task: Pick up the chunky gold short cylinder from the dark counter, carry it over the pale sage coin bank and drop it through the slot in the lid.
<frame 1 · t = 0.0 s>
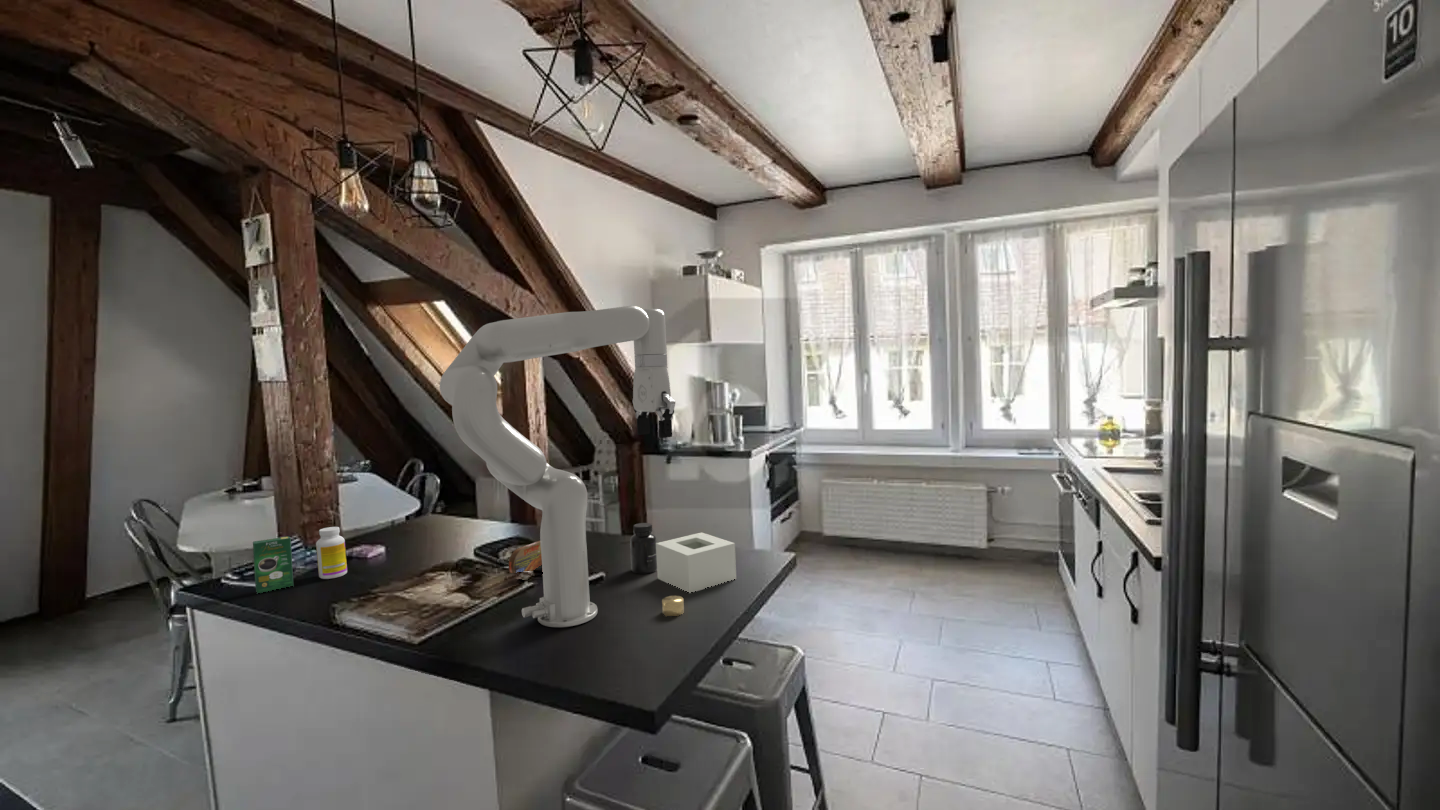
hand: (654, 435, 151), 37 cm above the worktop, tool pointing down, fingers open, 9 cm apart
coin bank: (696, 578, 160), on the worktop
coffee box: (275, 590, 165), on the worktop
supplement bottle 2: (333, 576, 174), on the worktop
supplement bottle: (644, 571, 168), on the worktop
gold short cylinder: (673, 613, 139), on the worktop
tin: (534, 576, 168), on the worktop
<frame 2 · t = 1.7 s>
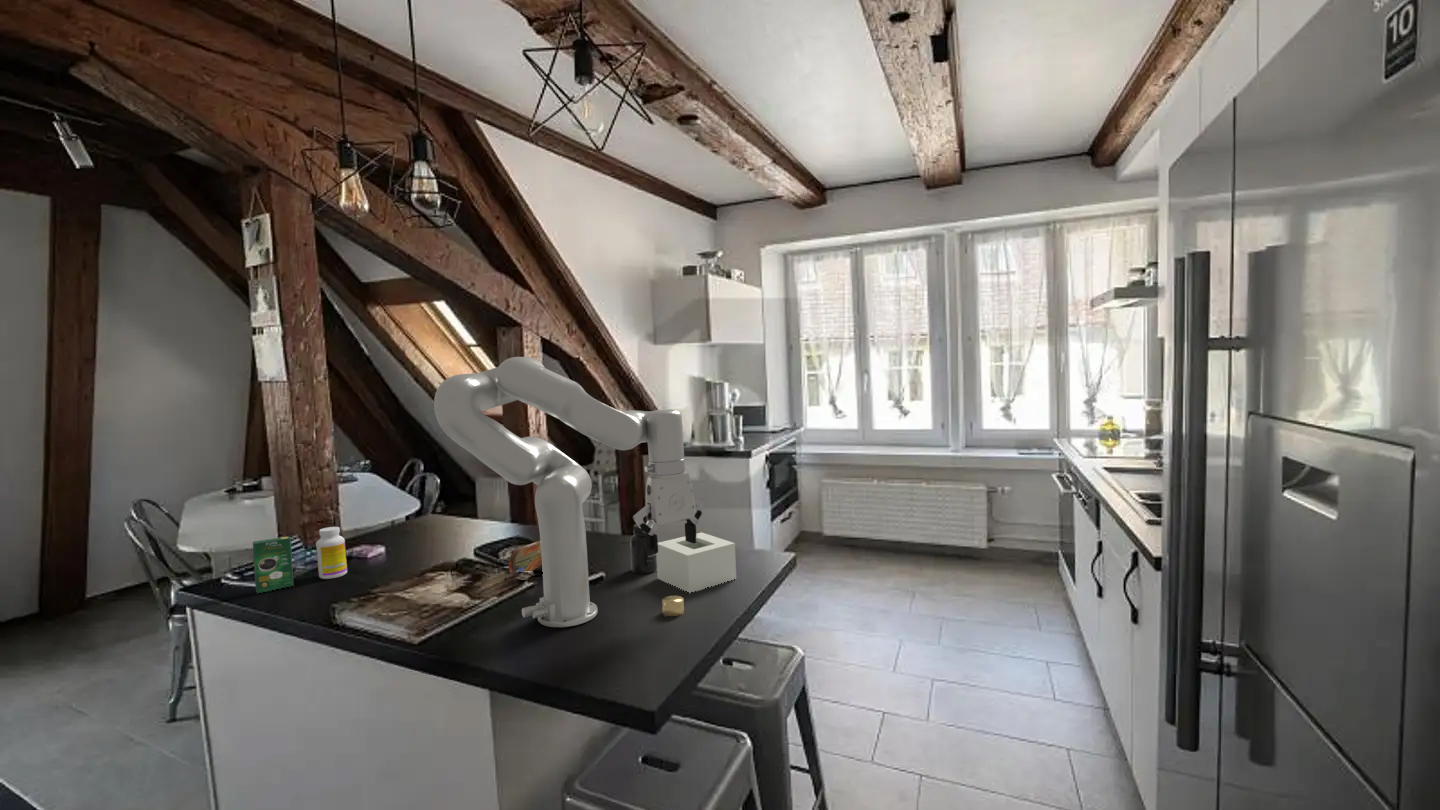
hand: (672, 547, 138), 14 cm above the worktop, tool pointing down, fingers open, 9 cm apart
nothing on the worktop moved.
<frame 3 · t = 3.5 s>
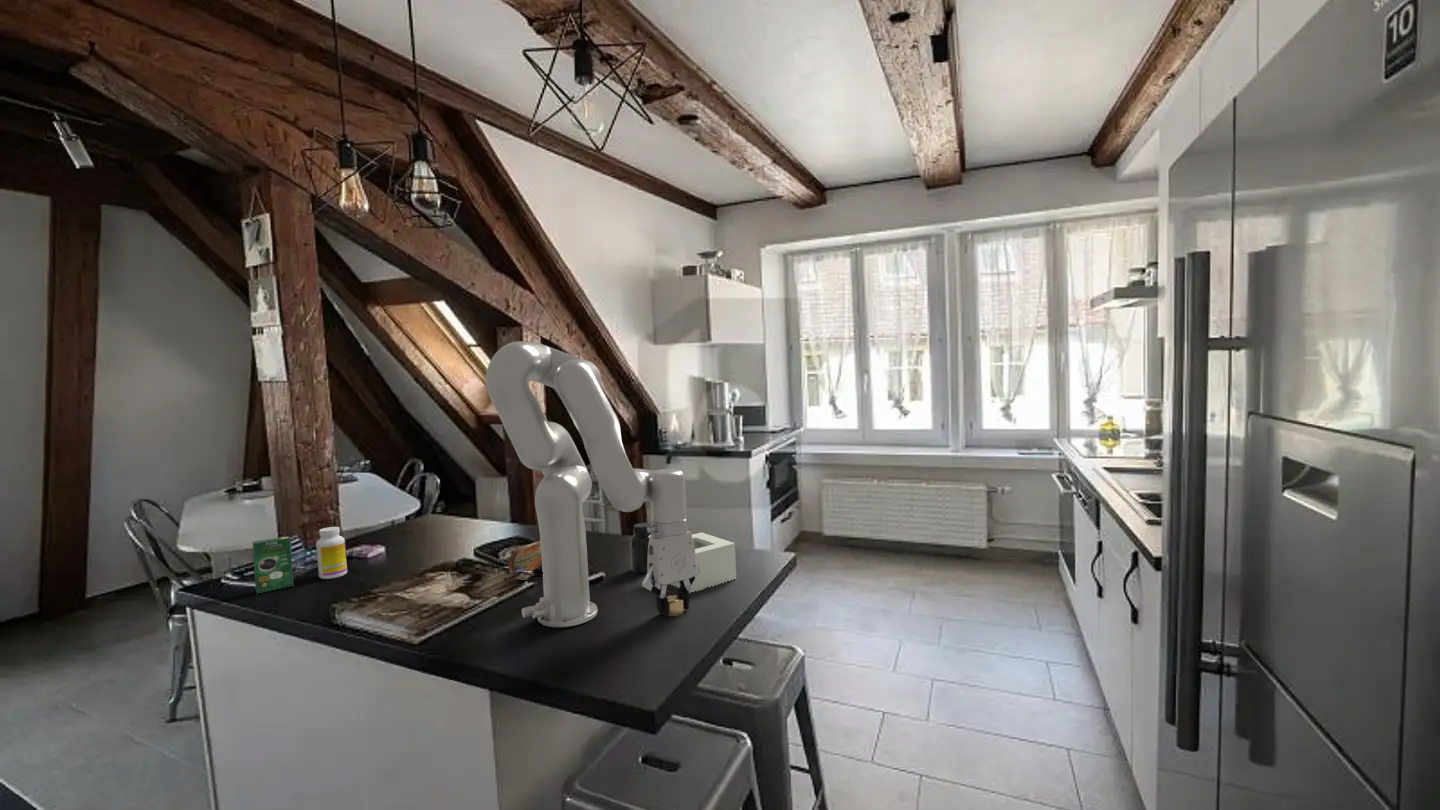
hand: (673, 609, 139), 1 cm above the worktop, tool pointing down, fingers closed on gold short cylinder, 4 cm apart
gold short cylinder: (673, 612, 139), on the worktop, touching gripper
everything else where it was.
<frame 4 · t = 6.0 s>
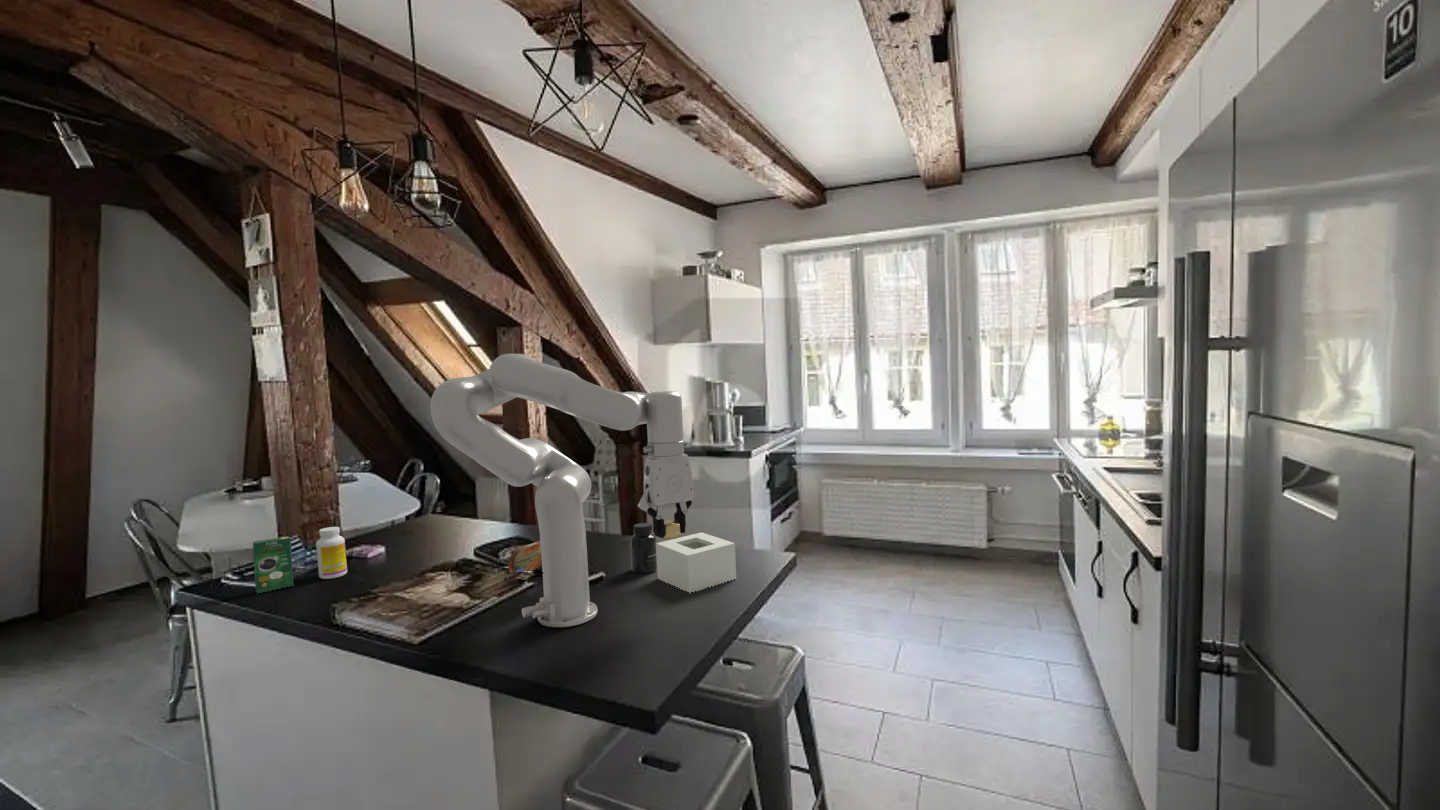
hand: (669, 533, 138), 17 cm above the worktop, tool pointing down, fingers closed on gold short cylinder, 4 cm apart
gold short cylinder: (670, 536, 138), point 17 cm above the worktop, touching gripper
everything else where it was.
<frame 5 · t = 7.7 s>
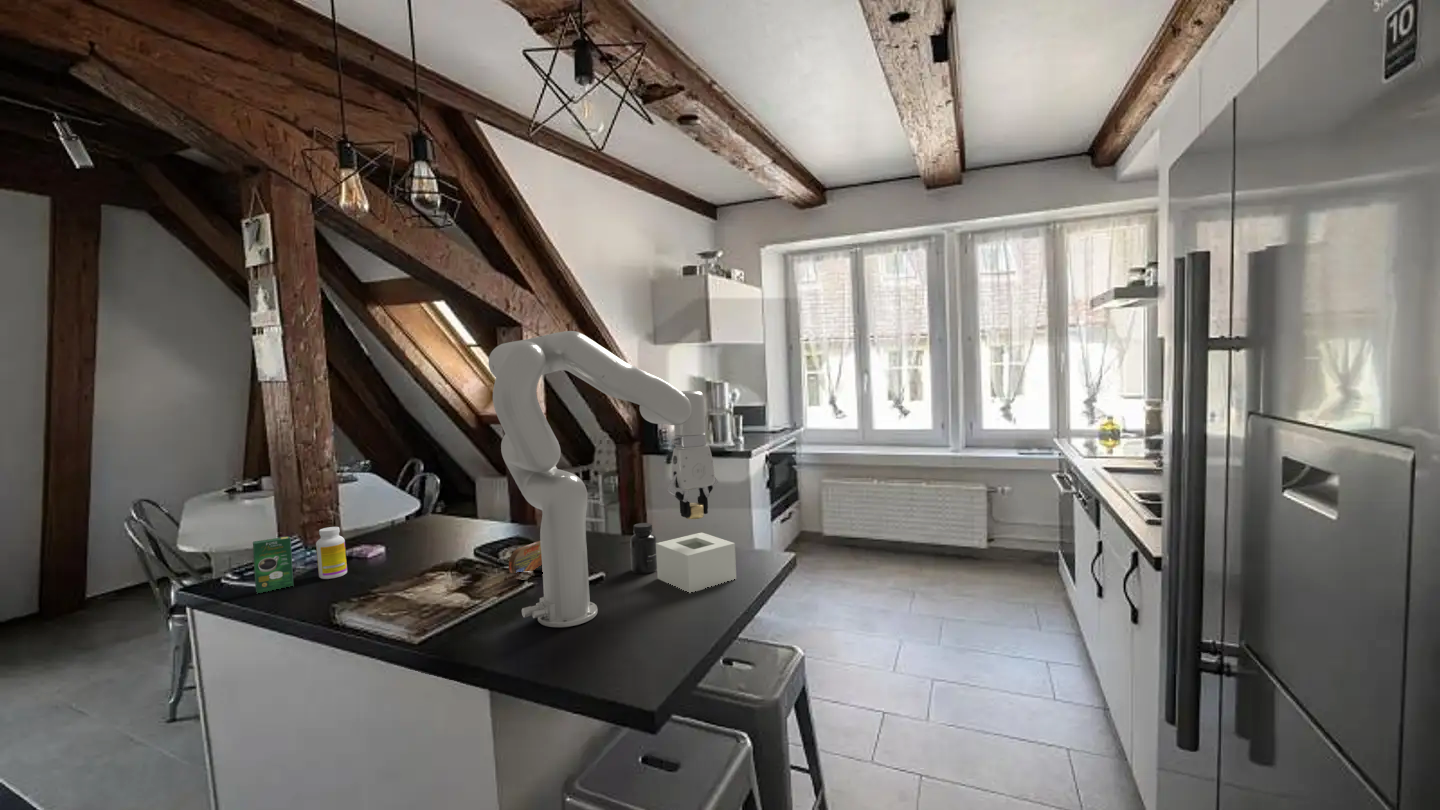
hand: (694, 514, 159), 16 cm above the worktop, tool pointing down, fingers closed on gold short cylinder, 4 cm apart
gold short cylinder: (694, 516, 159), point 16 cm above the worktop, touching gripper
everything else where it was.
when the fingers open (11 cm above the worktop, at t = 8.8 s): gold short cylinder drops 10 cm, resting on coin bank.
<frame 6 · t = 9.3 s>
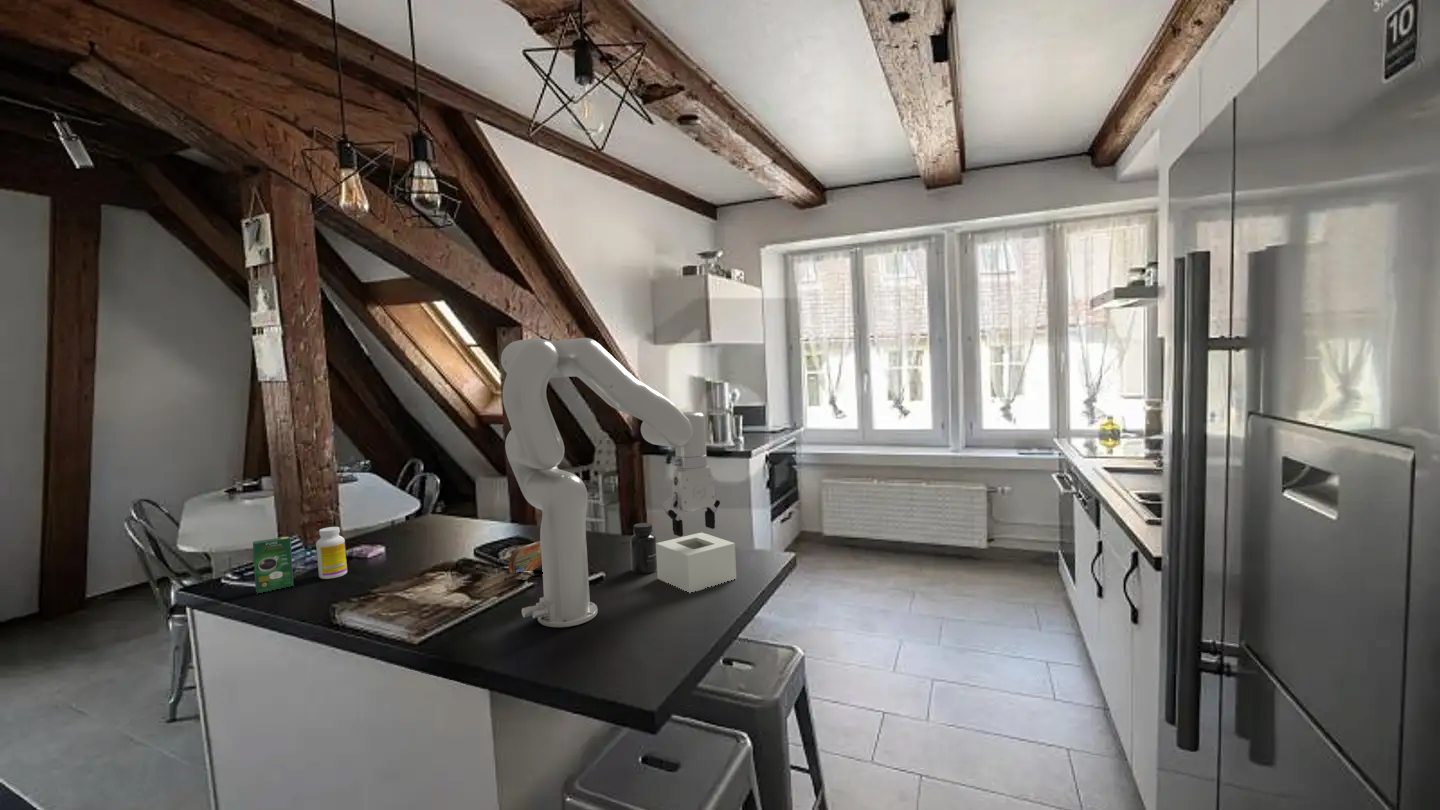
hand: (694, 531, 159), 12 cm above the worktop, tool pointing down, fingers open, 9 cm apart
gold short cylinder: (697, 576, 160), point 1 cm above the worktop, touching coin bank
everything else where it was.
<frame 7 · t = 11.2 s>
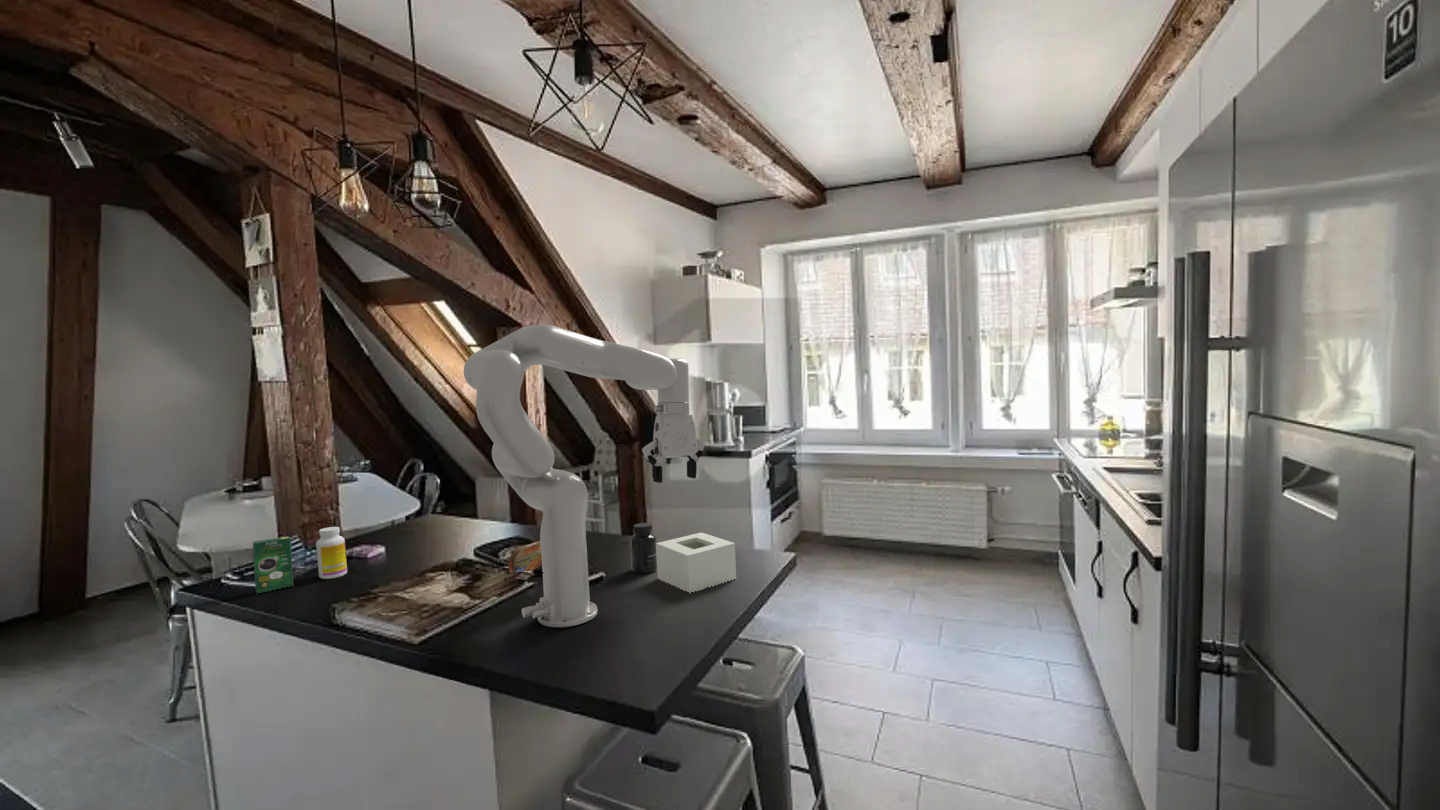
hand: (675, 479, 157), 25 cm above the worktop, tool pointing down, fingers open, 9 cm apart
nothing on the worktop moved.
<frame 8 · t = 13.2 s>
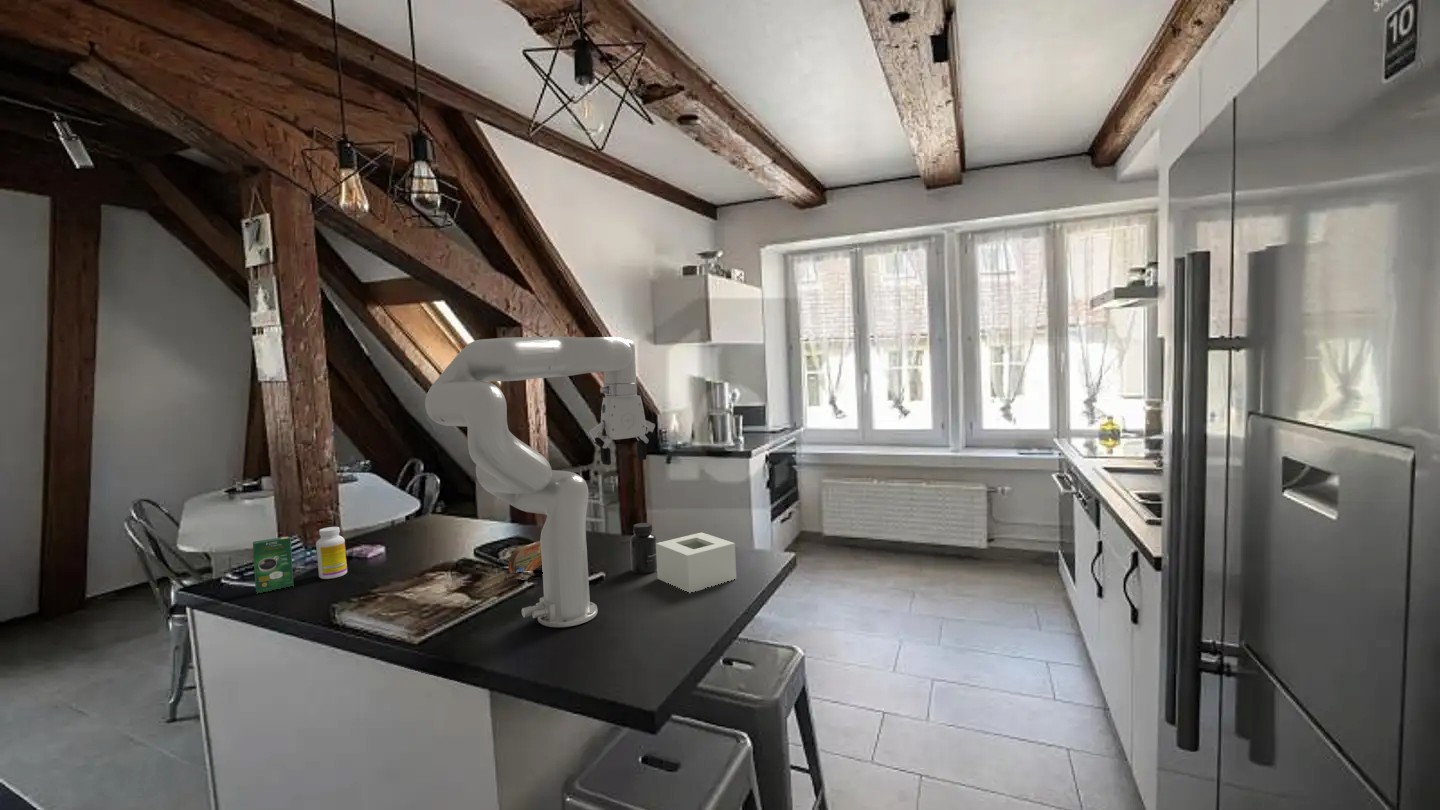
hand: (624, 461, 156), 30 cm above the worktop, tool pointing down, fingers open, 9 cm apart
nothing on the worktop moved.
at the end: gold short cylinder inside the target area on the coin bank (0.2 cm from its centre), point 0.6 cm above the coin bank's base; the gripper is holding nothing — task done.
